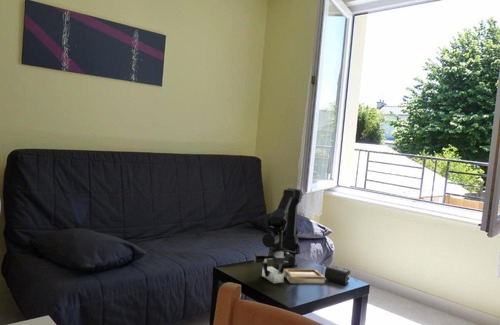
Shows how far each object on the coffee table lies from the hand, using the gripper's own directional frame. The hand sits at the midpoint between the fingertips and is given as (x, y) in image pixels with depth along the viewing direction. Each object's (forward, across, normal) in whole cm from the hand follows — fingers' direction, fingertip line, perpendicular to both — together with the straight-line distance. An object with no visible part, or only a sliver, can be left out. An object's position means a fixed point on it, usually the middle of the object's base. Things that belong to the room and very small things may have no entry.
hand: (272, 276), depth 177 cm
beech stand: (+1, +15, 0) cm, 15 cm away
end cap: (+1, +30, -4) cm, 30 cm away
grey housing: (+1, 0, 0) cm, 1 cm away
